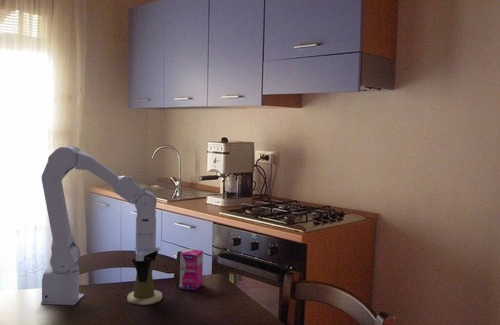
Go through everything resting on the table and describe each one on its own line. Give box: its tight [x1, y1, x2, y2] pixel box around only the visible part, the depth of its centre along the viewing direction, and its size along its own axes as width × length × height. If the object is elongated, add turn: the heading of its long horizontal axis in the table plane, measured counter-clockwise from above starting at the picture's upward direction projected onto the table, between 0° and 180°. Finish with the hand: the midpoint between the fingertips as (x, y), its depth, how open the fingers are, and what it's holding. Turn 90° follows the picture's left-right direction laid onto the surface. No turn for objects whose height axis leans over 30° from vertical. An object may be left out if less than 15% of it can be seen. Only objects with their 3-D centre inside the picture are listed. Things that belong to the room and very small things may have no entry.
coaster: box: [126, 289, 163, 306], centre depth 138 cm, size 10×10×1 cm
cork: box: [133, 257, 155, 299], centre depth 137 cm, size 6×6×11 cm
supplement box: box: [179, 248, 204, 291], centre depth 149 cm, size 6×6×12 cm
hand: (145, 278), depth 137 cm, fingers open, 5 cm apart
